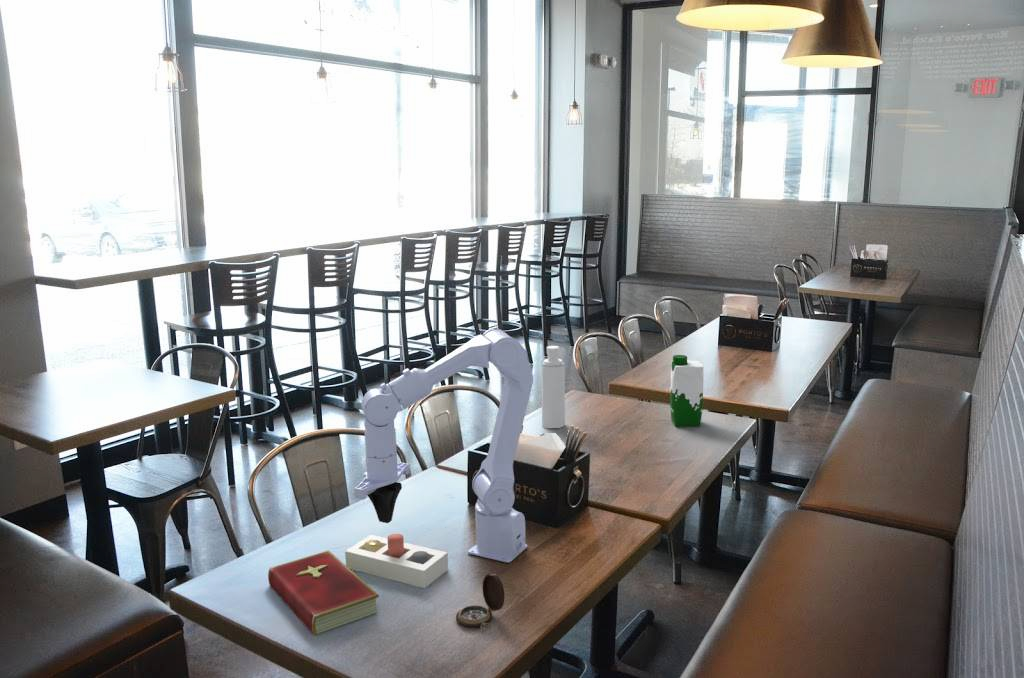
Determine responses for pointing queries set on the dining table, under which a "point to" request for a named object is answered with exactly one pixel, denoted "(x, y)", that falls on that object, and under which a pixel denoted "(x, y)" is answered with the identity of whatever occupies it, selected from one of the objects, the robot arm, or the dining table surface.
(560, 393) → the white bottle
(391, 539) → the red plug
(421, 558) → the gray plug
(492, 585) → the compass
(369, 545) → the brass plug
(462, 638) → the dining table surface
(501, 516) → the robot arm
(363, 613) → the hardcover book
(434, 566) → the socket board
